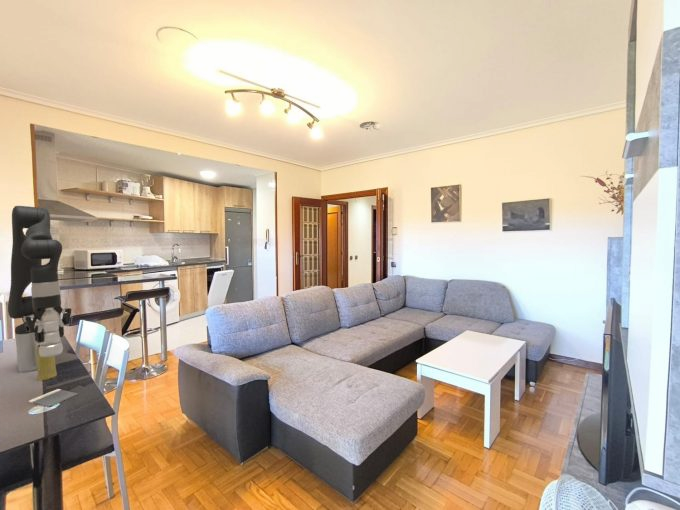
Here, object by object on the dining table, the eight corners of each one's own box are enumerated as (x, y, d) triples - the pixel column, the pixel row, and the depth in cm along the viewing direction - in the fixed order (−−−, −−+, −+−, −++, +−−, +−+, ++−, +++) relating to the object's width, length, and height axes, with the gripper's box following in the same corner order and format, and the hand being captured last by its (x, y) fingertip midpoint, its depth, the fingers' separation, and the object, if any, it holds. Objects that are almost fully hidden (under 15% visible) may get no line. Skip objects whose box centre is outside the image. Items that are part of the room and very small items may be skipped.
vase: (46, 374, 133) (43, 342, 132) (61, 373, 133) (58, 341, 132) (33, 380, 127) (30, 347, 126) (49, 380, 127) (46, 347, 126)
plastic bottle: (42, 361, 108) (38, 305, 106) (36, 357, 111) (32, 304, 110) (66, 355, 113) (62, 302, 112) (59, 351, 117) (55, 300, 115)
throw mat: (28, 402, 110) (28, 400, 110) (58, 390, 119) (57, 388, 119) (49, 407, 107) (49, 406, 107) (78, 394, 115) (77, 393, 115)
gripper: (62, 290, 119) (66, 333, 120) (13, 297, 105) (18, 345, 106) (75, 291, 116) (79, 334, 117) (27, 298, 103) (31, 347, 104)
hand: (50, 339), depth 112 cm, fingers closed on plastic bottle, 5 cm apart
